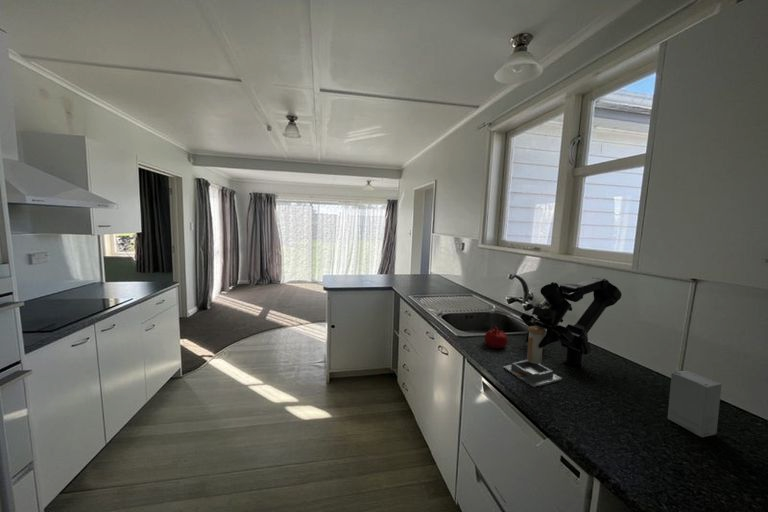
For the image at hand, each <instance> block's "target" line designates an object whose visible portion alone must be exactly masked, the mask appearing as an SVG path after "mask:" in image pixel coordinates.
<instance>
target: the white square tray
mask: <svg viewBox="0 0 768 512" xmlns="http://www.w3.org/2000/svg"><path fill="white" fill-rule="evenodd" d="M502 367H503V369H504V368H505V369H506V370H505V369H504V370H505V371H507V370H508V371H509V372H508V371H507V372H508V373H510V372H511V373H512V374H511V373H510V374H511V375H513V374H514V375H515V377H516V376H517V377H516V378H518V379H519V378H520V379H519V380H521V379H522V380H524V381H525V382H527V383H528V384H530V385H532V386H533V387H535V386H539V387H541V385H542V386H546V385H550V384H553V383H557V382H560V381H562V379H563V378H562V377H561V376H559V375H557V374H555V373H554V370H552V369H550V368H549V367H546V366H545V365H542V363H540V364H534V363H531V362H529V361H527V359H524V360H520V361H516V362H511V364H507V365H503V366H502ZM514 375H513V376H514ZM522 380H521V381H522ZM524 381H523V382H524ZM525 382H524V383H525ZM527 383H526V384H527ZM528 384H527V385H528ZM530 385H529V386H530ZM533 387H532V388H533ZM535 388H536V387H535Z"/></svg>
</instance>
